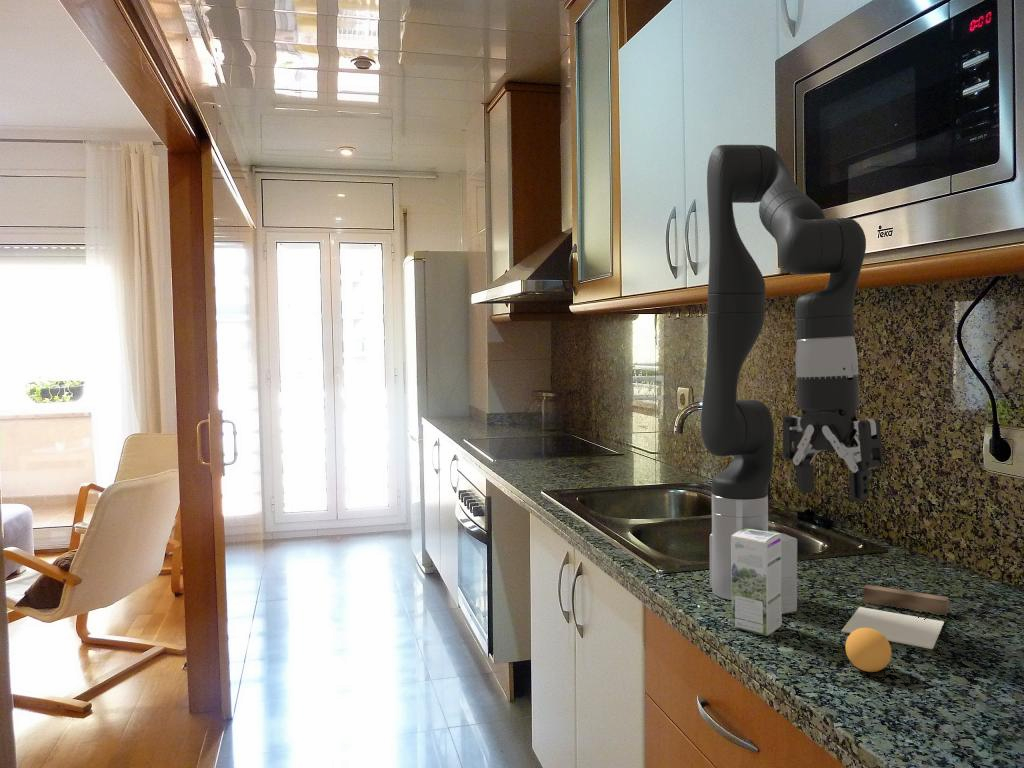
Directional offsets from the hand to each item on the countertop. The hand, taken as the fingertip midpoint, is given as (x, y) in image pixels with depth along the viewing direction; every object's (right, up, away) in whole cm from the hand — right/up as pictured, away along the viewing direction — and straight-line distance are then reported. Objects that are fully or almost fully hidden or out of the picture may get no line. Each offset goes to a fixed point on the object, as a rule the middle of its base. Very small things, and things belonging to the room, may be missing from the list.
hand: (831, 496), depth 101 cm
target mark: (+15, -22, +15) cm, 31 cm away
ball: (+5, -20, 0) cm, 21 cm away
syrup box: (-5, -22, +16) cm, 28 cm away
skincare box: (+1, -22, +25) cm, 33 cm away
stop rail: (+21, -21, +23) cm, 38 cm away
